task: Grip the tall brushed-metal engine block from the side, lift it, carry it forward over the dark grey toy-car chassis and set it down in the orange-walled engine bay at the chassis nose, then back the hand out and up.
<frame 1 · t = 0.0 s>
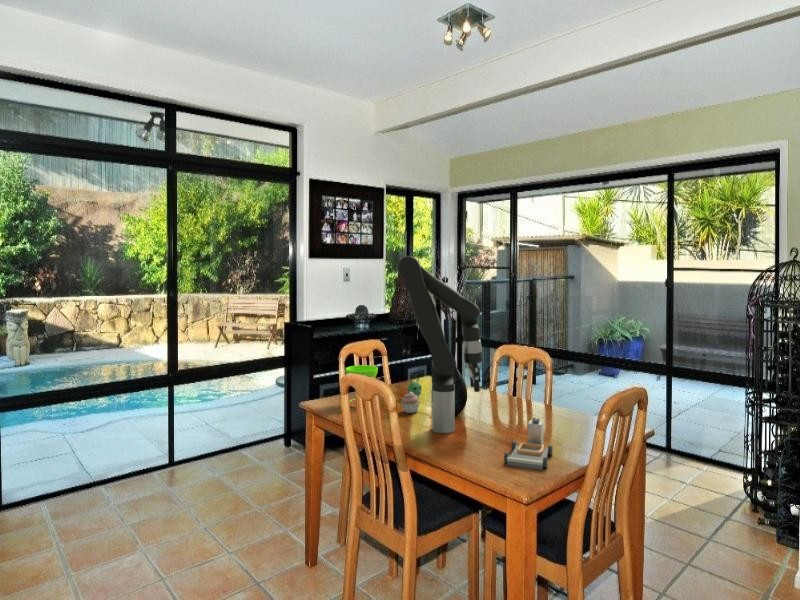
hand: (475, 389, 230), 17 cm above the table, tool pointing down, fingers open, 8 cm apart
engine block: (535, 445, 212), on the table
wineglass: (362, 404, 274), on the table
chassis: (528, 458, 197), on the table
alien toy: (414, 398, 285), on the table
cupcake: (410, 412, 259), on the table
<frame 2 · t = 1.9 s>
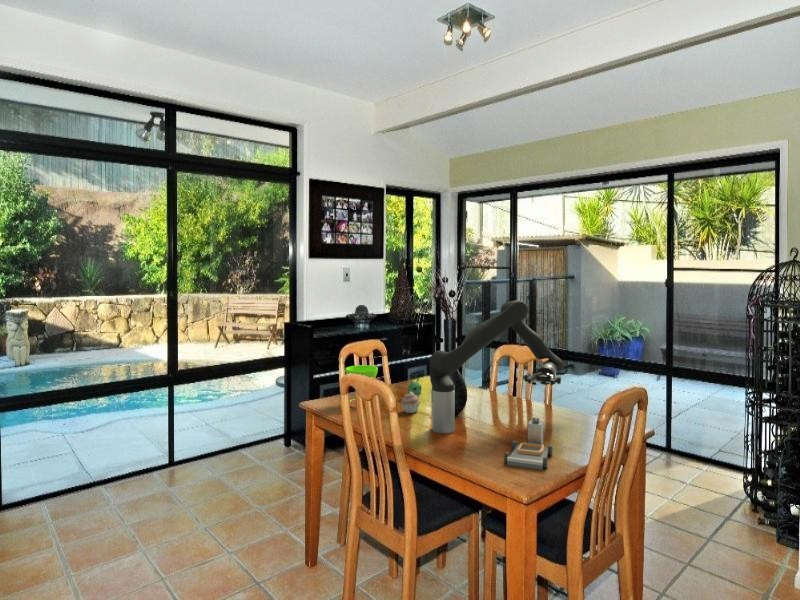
hand: (540, 382, 220), 22 cm above the table, tool horizontal, fingers open, 8 cm apart
nothing on the table moved.
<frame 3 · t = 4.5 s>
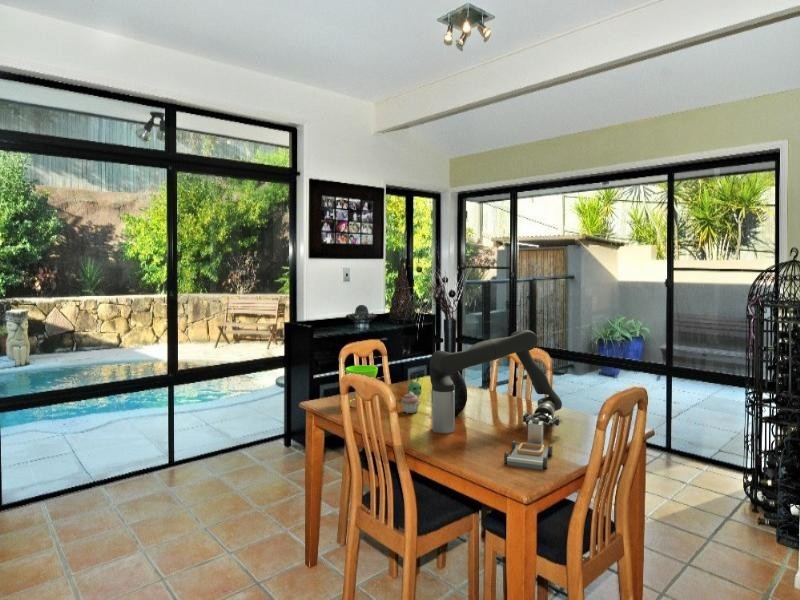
hand: (538, 423, 219), 6 cm above the table, tool horizontal, fingers open, 8 cm apart
nothing on the table moved.
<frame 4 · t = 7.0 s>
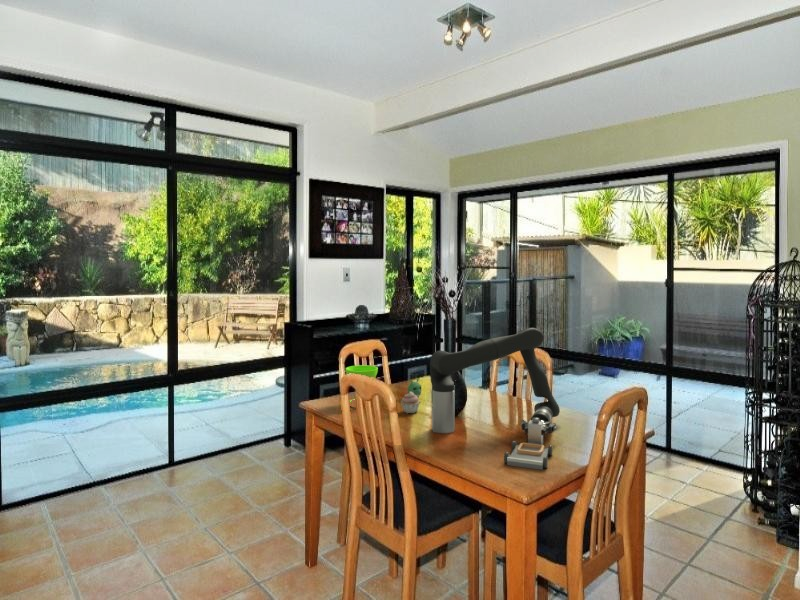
hand: (534, 431, 209), 6 cm above the table, tool horizontal, fingers closed on engine block, 5 cm apart
engine block: (535, 445, 212), on the table, touching gripper
everything else where it was.
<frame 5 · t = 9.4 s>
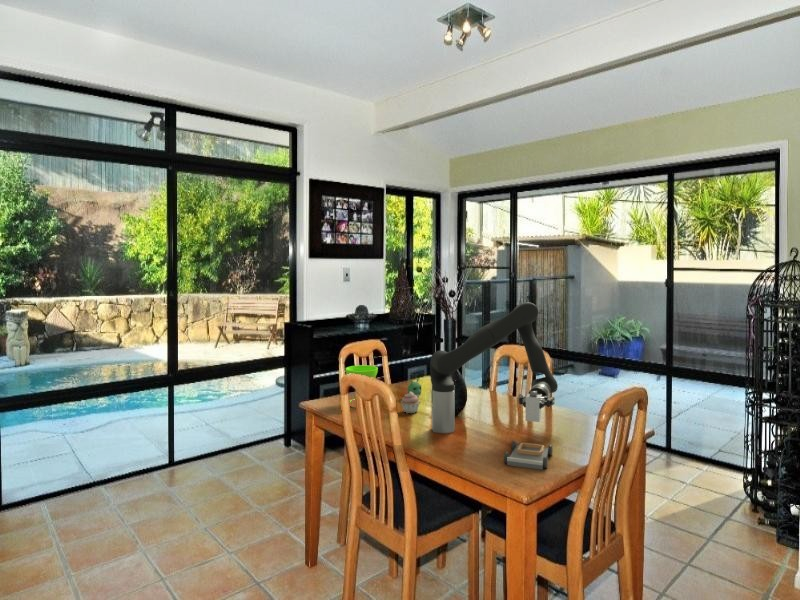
hand: (532, 405, 202), 18 cm above the table, tool horizontal, fingers closed on engine block, 5 cm apart
engine block: (533, 419, 205), point 12 cm above the table, touching gripper
everything else where it was.
when the fingers open (9 cm above the table, at t = 11.9 s): engine block drops 1 cm, resting on chassis.
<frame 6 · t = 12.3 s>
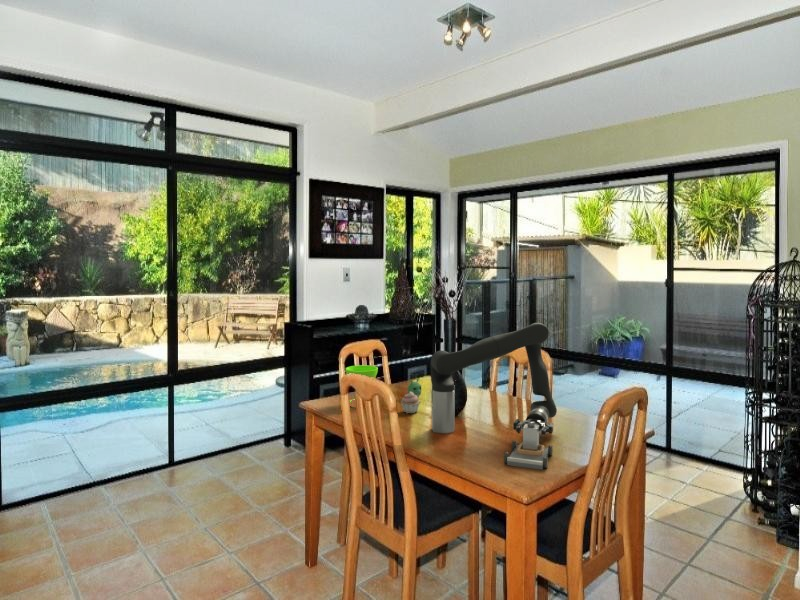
hand: (530, 431, 199), 9 cm above the table, tool horizontal, fingers open, 8 cm apart
engine block: (530, 450, 202), point 1 cm above the table, touching chassis
everything else where it was.
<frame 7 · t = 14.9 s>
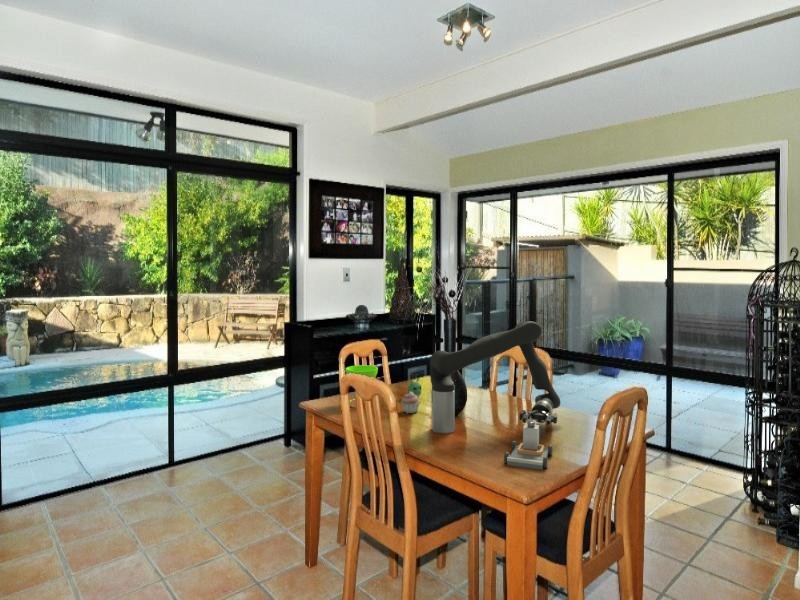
hand: (535, 421, 211), 9 cm above the table, tool horizontal, fingers open, 8 cm apart
nothing on the table moved.
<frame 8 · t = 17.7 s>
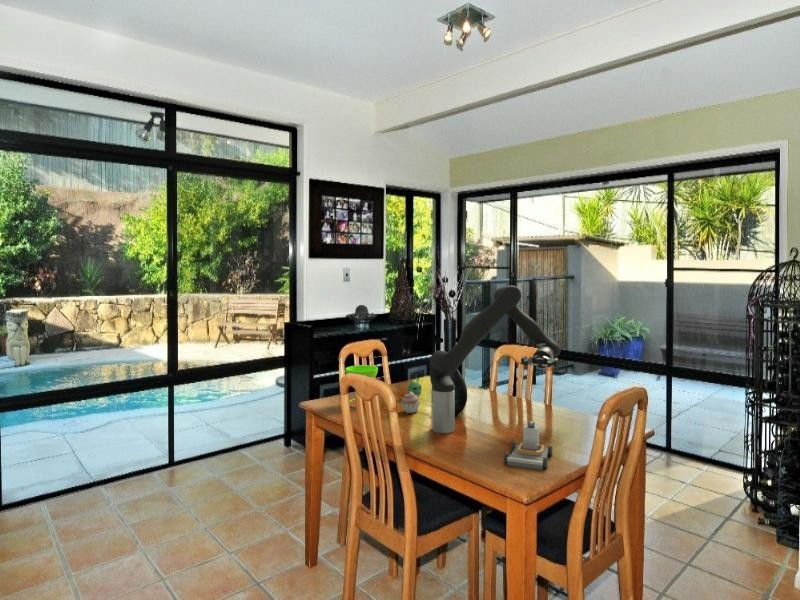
hand: (537, 364, 217), 30 cm above the table, tool horizontal, fingers open, 8 cm apart
nothing on the table moved.
at the end: engine block 0.0 cm from the target spot on the chassis, point 1.5 cm above the chassis's base; engine block tilted 0°; the gripper is holding nothing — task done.
